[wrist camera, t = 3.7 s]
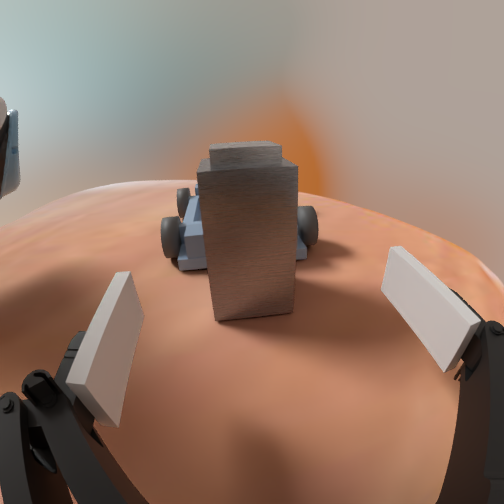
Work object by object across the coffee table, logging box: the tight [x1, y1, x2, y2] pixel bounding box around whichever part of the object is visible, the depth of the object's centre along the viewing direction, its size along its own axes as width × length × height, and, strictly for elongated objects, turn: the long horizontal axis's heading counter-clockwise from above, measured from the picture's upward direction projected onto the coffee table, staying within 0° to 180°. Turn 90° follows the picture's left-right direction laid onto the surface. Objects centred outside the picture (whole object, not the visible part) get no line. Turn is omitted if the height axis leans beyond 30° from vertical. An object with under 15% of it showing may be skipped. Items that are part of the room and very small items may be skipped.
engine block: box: [197, 141, 298, 321], centre depth 20 cm, size 6×6×12 cm
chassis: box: [161, 184, 318, 271], centre depth 35 cm, size 16×20×4 cm
